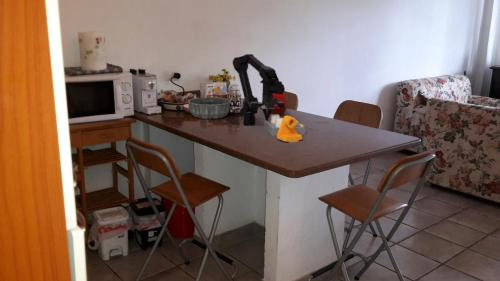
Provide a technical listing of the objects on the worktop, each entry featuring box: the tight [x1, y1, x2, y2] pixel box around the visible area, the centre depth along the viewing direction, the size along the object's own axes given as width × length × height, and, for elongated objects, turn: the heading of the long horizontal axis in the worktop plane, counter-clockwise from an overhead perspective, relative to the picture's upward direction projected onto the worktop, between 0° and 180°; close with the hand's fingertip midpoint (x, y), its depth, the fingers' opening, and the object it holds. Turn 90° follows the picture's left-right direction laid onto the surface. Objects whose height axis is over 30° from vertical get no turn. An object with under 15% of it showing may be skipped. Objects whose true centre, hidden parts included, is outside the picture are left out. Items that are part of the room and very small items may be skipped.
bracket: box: [276, 115, 303, 143], centre depth 229 cm, size 11×7×12 cm, turn 119°
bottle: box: [270, 92, 289, 118], centre depth 290 cm, size 16×14×20 cm
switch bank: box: [263, 119, 306, 137], centre depth 249 cm, size 18×18×5 cm
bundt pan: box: [187, 96, 232, 120], centre depth 282 cm, size 26×26×10 cm
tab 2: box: [275, 117, 284, 127], centre depth 242 cm, size 4×3×6 cm
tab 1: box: [270, 114, 280, 123], centre depth 252 cm, size 4×3×6 cm
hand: (266, 120), depth 251 cm, fingers closed
